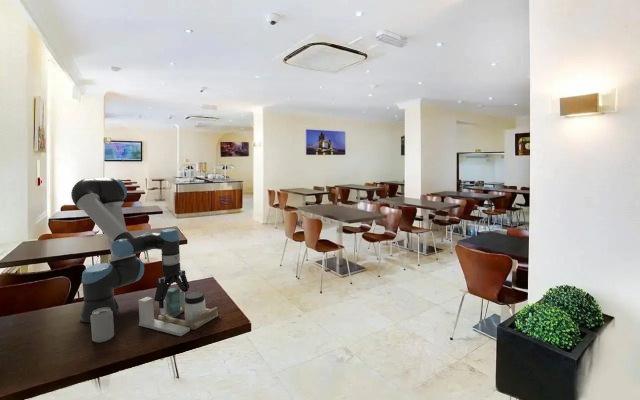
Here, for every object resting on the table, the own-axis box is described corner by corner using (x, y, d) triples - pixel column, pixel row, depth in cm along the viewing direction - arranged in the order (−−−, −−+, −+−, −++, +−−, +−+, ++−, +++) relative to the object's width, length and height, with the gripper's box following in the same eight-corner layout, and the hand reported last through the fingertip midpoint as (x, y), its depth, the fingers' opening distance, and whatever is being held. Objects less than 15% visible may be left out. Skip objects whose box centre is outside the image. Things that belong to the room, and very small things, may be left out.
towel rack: (157, 320, 147) (156, 294, 146) (182, 308, 160) (181, 284, 159) (194, 329, 139) (193, 302, 137) (217, 315, 152) (217, 290, 151)
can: (97, 345, 127) (95, 315, 126) (88, 340, 131) (86, 311, 130) (118, 337, 134) (116, 308, 132) (108, 332, 138) (106, 304, 136)
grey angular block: (138, 325, 143) (137, 300, 142) (148, 320, 147) (147, 296, 146) (180, 336, 133) (179, 309, 132) (189, 330, 138) (188, 304, 137)
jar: (187, 327, 142) (185, 300, 141) (183, 319, 149) (182, 294, 147) (208, 321, 147) (207, 295, 146) (203, 314, 153) (202, 290, 152)
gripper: (155, 271, 138) (158, 321, 140) (196, 257, 159) (198, 301, 162) (142, 269, 141) (146, 318, 143) (184, 255, 162) (186, 299, 165)
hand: (173, 309), depth 152 cm, fingers closed on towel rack, 11 cm apart
